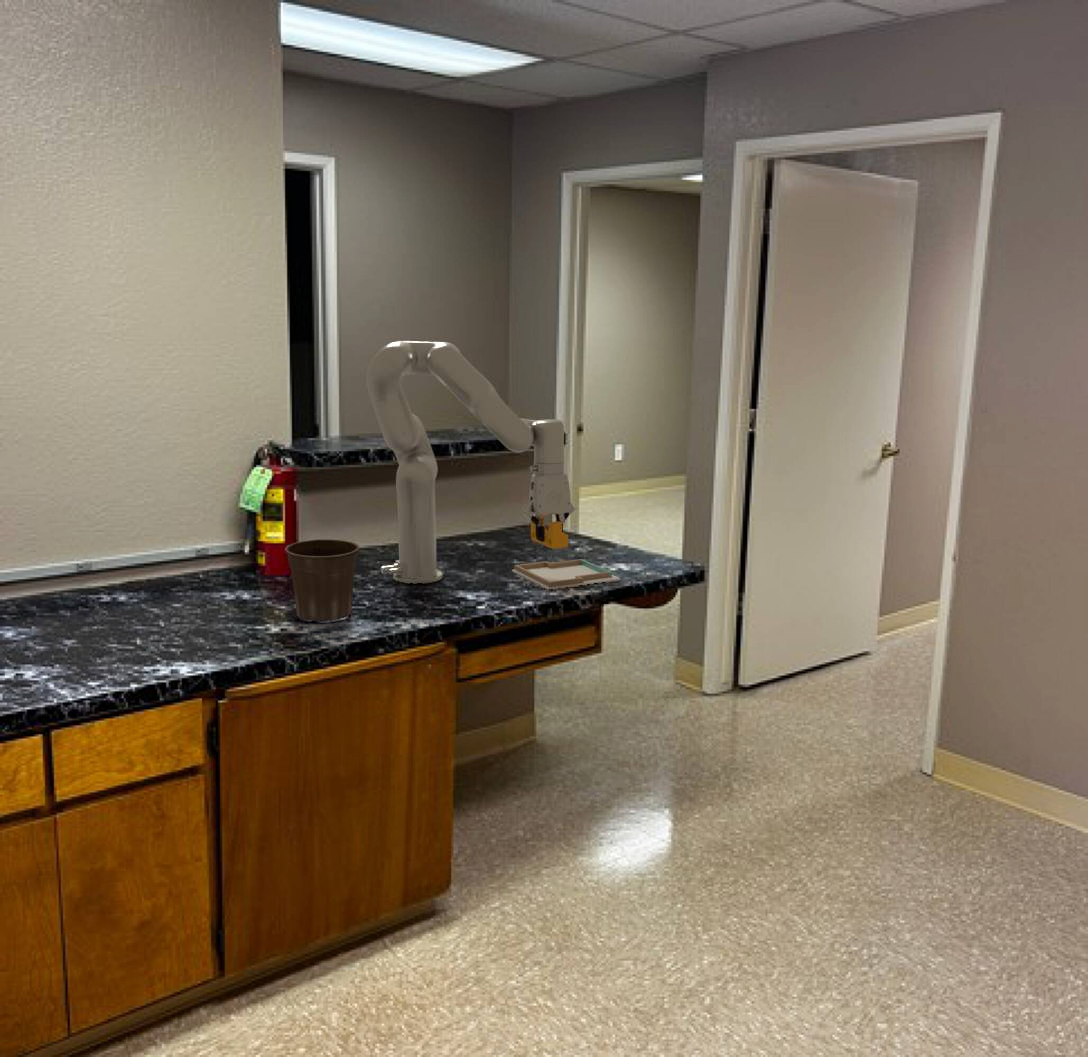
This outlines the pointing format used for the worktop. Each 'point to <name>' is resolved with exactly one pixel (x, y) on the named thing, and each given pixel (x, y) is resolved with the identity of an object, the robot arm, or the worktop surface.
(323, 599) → the plant pot
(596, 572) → the shallow rimmed tray
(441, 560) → the worktop surface
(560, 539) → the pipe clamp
